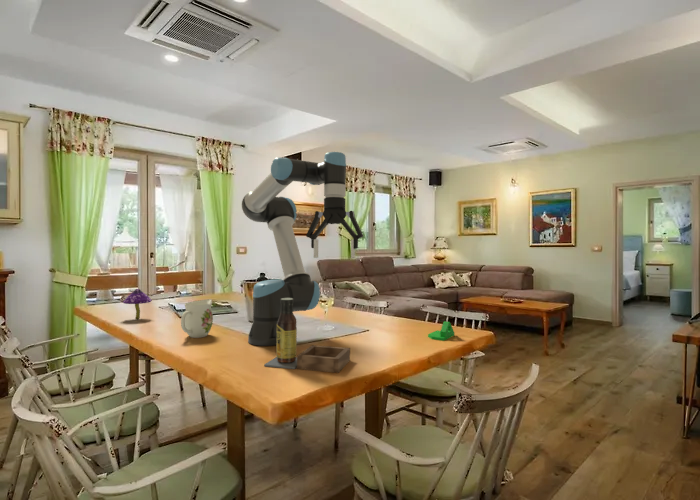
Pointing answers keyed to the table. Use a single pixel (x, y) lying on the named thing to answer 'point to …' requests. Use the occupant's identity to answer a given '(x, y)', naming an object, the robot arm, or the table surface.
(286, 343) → the sauce bottle
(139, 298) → the decorative mushroom
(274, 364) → the slate coaster
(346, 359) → the walnut collar
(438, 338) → the bracket
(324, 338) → the table surface
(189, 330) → the pitcher
